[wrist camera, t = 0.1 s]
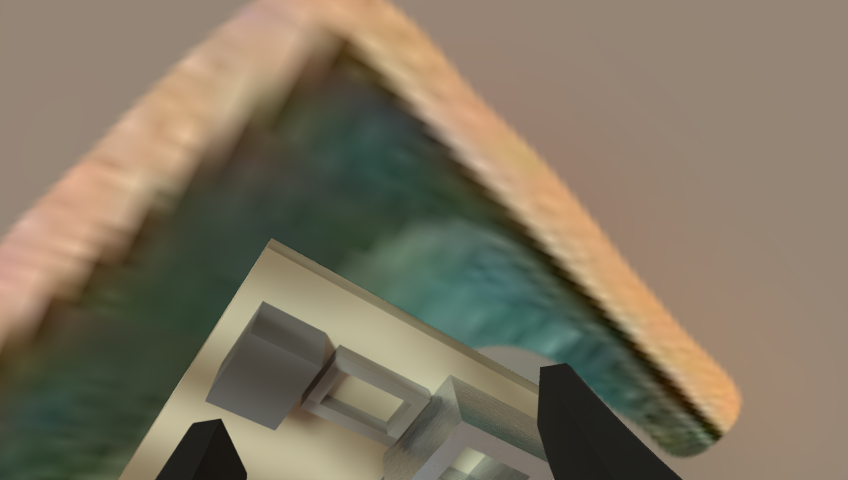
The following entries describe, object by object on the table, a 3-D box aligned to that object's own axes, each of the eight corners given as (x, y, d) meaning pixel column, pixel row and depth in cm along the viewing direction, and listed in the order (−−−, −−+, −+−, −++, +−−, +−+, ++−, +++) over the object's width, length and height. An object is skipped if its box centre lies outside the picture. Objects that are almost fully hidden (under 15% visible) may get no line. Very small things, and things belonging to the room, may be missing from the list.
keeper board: (427, 571, 29) (435, 634, 26) (127, 463, 24) (92, 527, 20) (580, 409, 26) (610, 460, 23) (271, 238, 20) (255, 274, 17)
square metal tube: (471, 493, 26) (484, 547, 23) (383, 455, 24) (385, 508, 21) (538, 420, 24) (561, 469, 22) (450, 374, 23) (462, 420, 20)
